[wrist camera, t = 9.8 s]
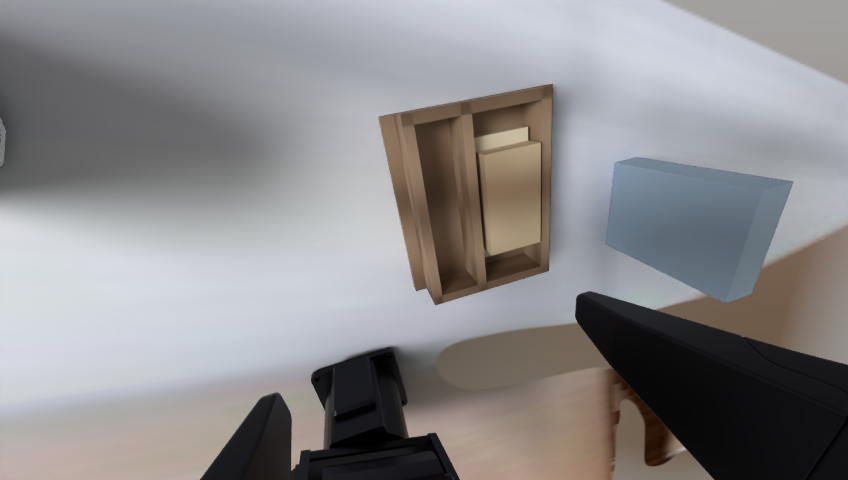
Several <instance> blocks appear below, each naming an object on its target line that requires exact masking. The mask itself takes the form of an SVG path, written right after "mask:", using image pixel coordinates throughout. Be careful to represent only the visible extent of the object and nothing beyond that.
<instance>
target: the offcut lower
mask: <svg viewBox="0 0 848 480" xmlns="http://www.w3.org/2000/svg"><path fill="white" fill-rule="evenodd" d="M523 141H528V127H526V126H513V127H508V128H503V129H499V130H494V131H489V132H484V133H479V134H475V135H474V143H475V152H478V151H483V150H487V149H492V148H496V147H501V146H505V145H510V144H514V143H519V142H523ZM488 256H492V255H491V254H490V253H489V252H488V251H486V250H485V249H484V258H485V257H488Z"/></svg>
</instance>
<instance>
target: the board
mask: <svg viewBox="0 0 848 480" xmlns="http://www.w3.org/2000/svg"><path fill="white" fill-rule="evenodd" d="M792 184H793V181H786V180H780V179H773V178H767V177H760V176H754V175H748V174H741V173H735V172H728V171H722V170H715V169H709V168H702V167H696V166H689V165H683V164H677V163H670V162H664V161H657V160H651V159H644V158H638V157H636V158H632V159H628V160H624V161H620V162H616V163H614V173H613V182H612V191H611V200H610V209H609V218H608V227H607V237H606V244H607V245H609V246H611V247H613V248H615V249H617V250H619V251H621V252H623V253H625V254H627V255H629V256H631V257H633V258H635V259H637V260H639V261H641V262H643V263H645V264H647V265H649V266H651V267H653V268H655V269H657V270H659V271H661V272H663V273H665V274H667V275H669V276H671V277H673V278H675V279H677V280H679V281H681V282H683V283H685V284H687V285H689V286H691V287H693V288H695V289H697V290H699V291H701V292H703V293H705V294H707V295H709V296H711V297H713V298H715V299H717V300H719V301H722V302H723V303H728V302H731V301H733V300H736V299H739V298H742V297H744V296H747V295H750V294H752V291H753V288H754V285H755V283H756V280H757V278H758V275H759V272H760V270H761V267H762V264H763V262H764V259H765V256H766V254H767V251H768V248H769V246H770V243H771V240H772V238H773V235H774V232H775V230H776V227H777V224H778V222H779V219H780V216H781V214H782V211H783V208H784V206H785V203H786V200H787V198H788V195H789V192H790V190H791V187H792Z"/></svg>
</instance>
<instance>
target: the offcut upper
mask: <svg viewBox="0 0 848 480" xmlns="http://www.w3.org/2000/svg"><path fill="white" fill-rule="evenodd" d="M475 155H476V166H477V177H478V189H479V200H480V212H481V223H482V235H483V246H484V249H485V250H486V251H488V252H489V253H490V254H491V255H496V254H499V253H503V252H507V251H510V250H514V249H517V248H521V247H524V246H528V245H531V244H535V243H538V242H540V231H541V142H535V141H523V142H519V143H514V144H510V145H505V146H501V147H496V148H492V149H487V150H483V151H478V152H475Z"/></svg>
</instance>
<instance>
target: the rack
mask: <svg viewBox="0 0 848 480" xmlns="http://www.w3.org/2000/svg"><path fill="white" fill-rule="evenodd" d="M552 95H553V84H549V85H543V86H538V87H533V88H527V89H522V90H517V91H511V92H506V93H501V94H496V95H490V96H485V97H480V98H474V99H469V100H464V101H458V102H453V103H448V104H443V105H437V106H432V107H427V108H421V109H416V110H411V111H405V112H400V113H395V114H390V115H384V116H379V117H378V118H379V122H380V127H381V132H382V136H383V141H384V146H385V150H386V155H387V160H388V165H389V169H390V174H391V179H392V183H393V188H394V193H395V197H396V202H397V207H398V211H399V216H400V221H401V226H402V230H403V235H404V240H405V244H406V249H407V254H408V258H409V263H410V268H411V273H412V277H413V282H414V287H415V289H416V291H419V290H422V289H425V288H427V290H428V292H429V294H430V296H431V298H432V300H433V302H434V304H435V305H438V304H441V303H444V302H448V301H451V300H454V299H458V298H461V297H464V296H468V295H471V294H474V293H478V292H481V291H484V290H487V289H491V288H494V287H497V286H501V285H504V284H507V283H511V282H514V281H517V280H521V279H524V278H527V277H530V276H534V275H537V274H540V273H544V272H547V271H549V249H550V198H551V146H552ZM513 126H526V127H528V141H535V142H541V231H540V242H538V243H535V244H531V245H528V246H524V247H521V248H517V249H514V250H510V251H507V252H503V253H499V254H496V255H492V256H488V257H485V258H484V246H483V235H482V223H481V212H480V200H479V189H478V177H477V166H476V155H475V143H474V135H475V134H479V133H484V132H489V131H494V130H499V129H503V128H508V127H513Z"/></svg>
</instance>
